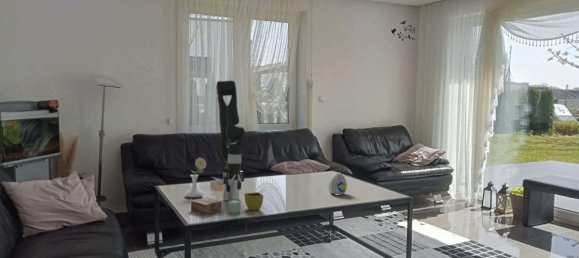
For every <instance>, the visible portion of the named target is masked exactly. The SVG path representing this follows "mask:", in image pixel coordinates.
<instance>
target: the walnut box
mask: <svg viewBox="0 0 579 258" xmlns="http://www.w3.org/2000/svg"><path fill="white" fill-rule="evenodd" d="M190 212H193V213H197V214H199V213H200V214H199V215H202V214H203V215H202V216H207V214H208V215H211V214H215V213H219V212H222V200H219V199H215V198H211V197H203V198H198V199H194V200H190ZM214 212H215V213H214ZM210 213H211V214H210Z"/></svg>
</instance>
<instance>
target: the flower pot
mask: <svg viewBox="0 0 579 258" xmlns="http://www.w3.org/2000/svg"><path fill="white" fill-rule="evenodd" d="M244 201H245V205H246V207H247V209H248V210H249V211H251V212H253V211H260V209H261V208H262V206H263V202H264V195H263V194H261V192H258V191H257V192H247V193H244Z"/></svg>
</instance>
